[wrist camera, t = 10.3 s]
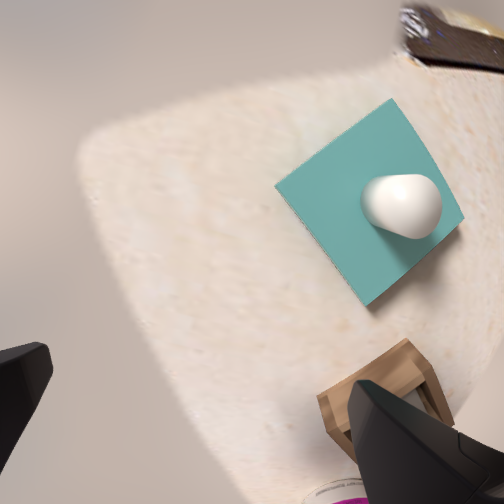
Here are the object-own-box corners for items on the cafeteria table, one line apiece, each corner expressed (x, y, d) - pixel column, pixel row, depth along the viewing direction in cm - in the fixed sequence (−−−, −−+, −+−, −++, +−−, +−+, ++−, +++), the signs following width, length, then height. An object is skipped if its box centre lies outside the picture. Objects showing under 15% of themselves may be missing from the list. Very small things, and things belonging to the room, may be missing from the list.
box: (404, 335, 21) (432, 365, 16) (432, 394, 22) (454, 424, 18) (316, 393, 22) (327, 432, 17) (357, 442, 23) (369, 477, 19)
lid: (379, 105, 17) (424, 79, 12) (448, 214, 19) (503, 226, 13) (272, 185, 19) (282, 185, 13) (355, 295, 20) (390, 334, 14)
